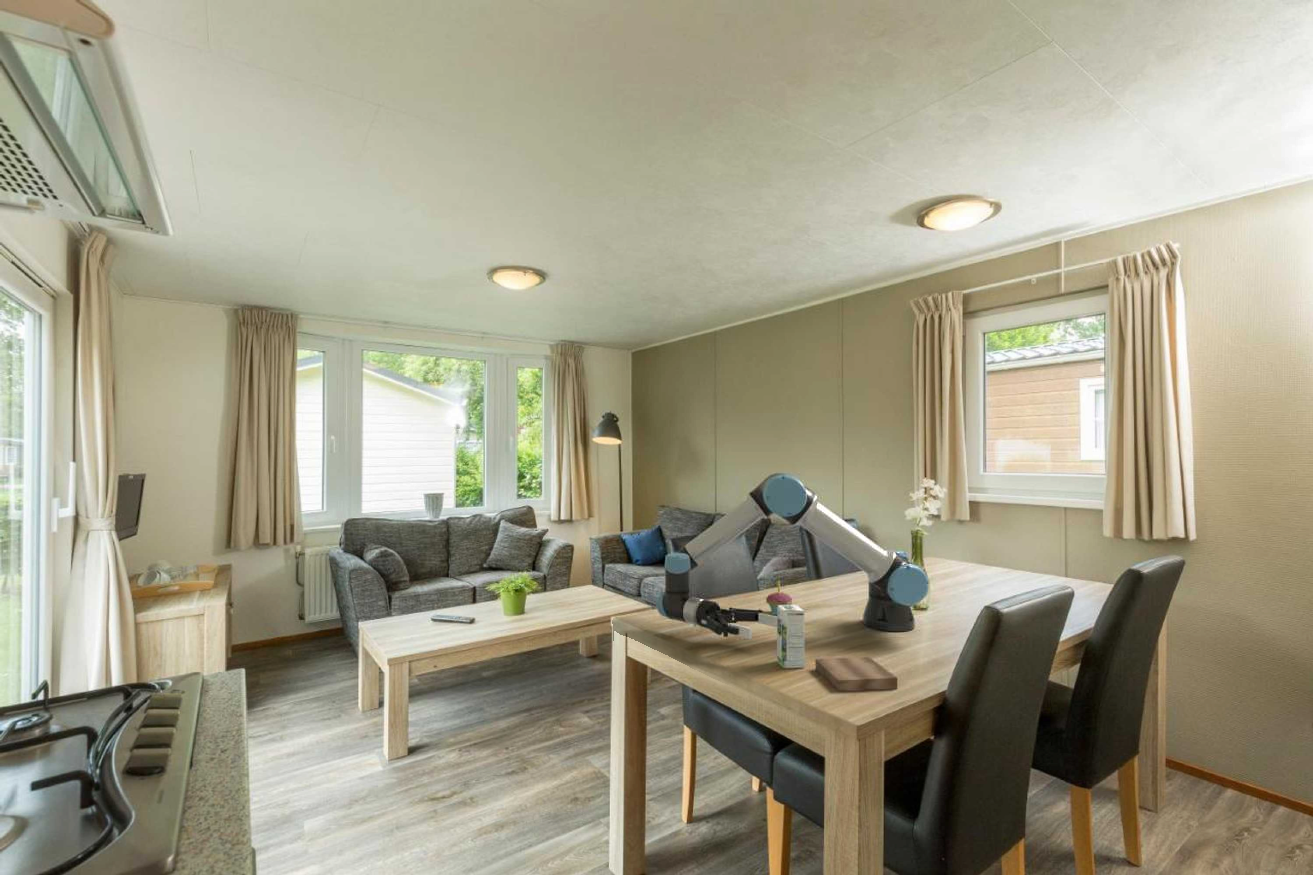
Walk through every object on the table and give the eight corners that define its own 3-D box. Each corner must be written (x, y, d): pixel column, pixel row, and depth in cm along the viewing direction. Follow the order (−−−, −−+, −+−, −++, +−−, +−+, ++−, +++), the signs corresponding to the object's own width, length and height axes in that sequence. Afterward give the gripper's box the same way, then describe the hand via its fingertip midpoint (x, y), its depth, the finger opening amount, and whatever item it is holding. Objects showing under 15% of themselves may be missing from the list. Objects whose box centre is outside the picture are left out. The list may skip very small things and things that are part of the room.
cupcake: (792, 618, 196) (792, 581, 196) (765, 616, 198) (765, 580, 198) (791, 611, 204) (791, 575, 205) (766, 610, 206) (766, 574, 206)
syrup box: (776, 660, 157) (775, 604, 157) (798, 660, 157) (798, 604, 157) (782, 668, 151) (782, 610, 151) (805, 668, 151) (805, 610, 152)
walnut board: (868, 666, 152) (868, 656, 152) (897, 688, 138) (897, 677, 138) (815, 669, 151) (815, 659, 151) (838, 691, 137) (838, 680, 137)
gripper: (729, 617, 183) (790, 631, 168) (673, 635, 165) (737, 653, 150) (728, 592, 183) (790, 604, 168) (673, 608, 165) (737, 623, 150)
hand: (765, 627), depth 159 cm, fingers open, 13 cm apart
